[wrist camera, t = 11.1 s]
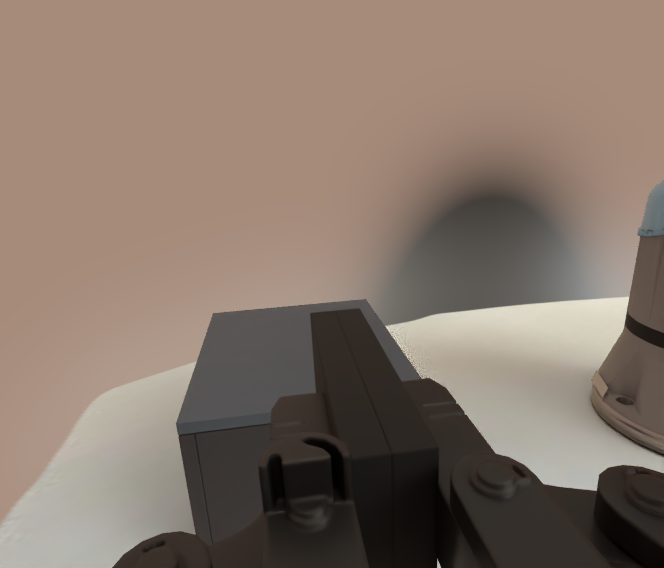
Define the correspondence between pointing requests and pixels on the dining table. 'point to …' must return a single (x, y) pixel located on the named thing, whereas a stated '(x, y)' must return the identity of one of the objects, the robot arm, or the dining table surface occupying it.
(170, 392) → the dining table surface
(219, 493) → the dark grey box
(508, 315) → the dining table surface
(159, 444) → the dining table surface
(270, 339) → the dark grey box lid
